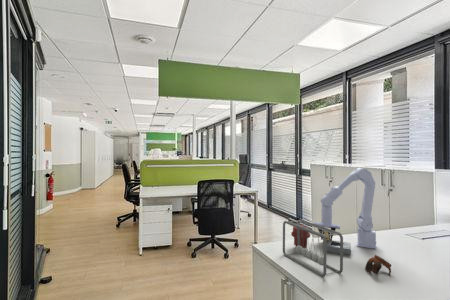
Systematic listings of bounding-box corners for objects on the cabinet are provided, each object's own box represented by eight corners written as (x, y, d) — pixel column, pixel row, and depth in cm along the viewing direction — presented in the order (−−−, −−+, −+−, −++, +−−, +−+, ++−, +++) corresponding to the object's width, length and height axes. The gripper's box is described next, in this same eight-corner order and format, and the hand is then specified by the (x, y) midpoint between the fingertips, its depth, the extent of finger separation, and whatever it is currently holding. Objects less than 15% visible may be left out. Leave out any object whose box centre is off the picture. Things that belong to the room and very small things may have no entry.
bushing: (330, 242, 164) (330, 230, 164) (329, 244, 161) (329, 232, 161) (323, 241, 166) (323, 229, 166) (322, 243, 162) (322, 231, 162)
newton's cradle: (282, 254, 144) (282, 220, 144) (298, 251, 148) (298, 218, 148) (324, 279, 116) (325, 236, 116) (343, 274, 121) (343, 233, 121)
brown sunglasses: (364, 267, 130) (373, 252, 130) (384, 281, 125) (394, 266, 124) (361, 269, 120) (371, 253, 120) (383, 285, 115) (394, 268, 114)
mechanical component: (290, 244, 159) (308, 245, 158) (292, 250, 149) (311, 251, 148) (290, 222, 159) (308, 223, 158) (292, 227, 149) (311, 228, 148)
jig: (350, 249, 152) (350, 243, 152) (350, 256, 142) (350, 249, 142) (325, 245, 158) (325, 239, 158) (323, 252, 148) (323, 245, 148)
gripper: (312, 216, 163) (312, 240, 163) (339, 219, 157) (339, 243, 156) (314, 214, 169) (314, 236, 169) (340, 216, 163) (340, 240, 163)
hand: (326, 239), depth 163 cm, fingers open, 4 cm apart
